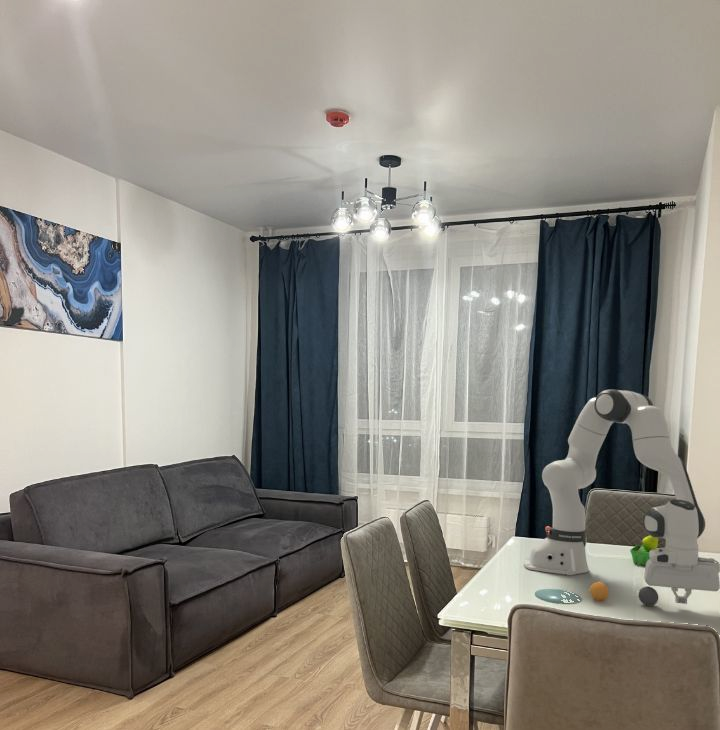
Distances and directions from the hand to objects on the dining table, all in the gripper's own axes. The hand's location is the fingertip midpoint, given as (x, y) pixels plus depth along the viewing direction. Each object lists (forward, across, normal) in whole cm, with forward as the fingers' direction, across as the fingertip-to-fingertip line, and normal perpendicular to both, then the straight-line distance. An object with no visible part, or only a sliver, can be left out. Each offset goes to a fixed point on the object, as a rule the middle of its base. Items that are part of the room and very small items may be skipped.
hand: (681, 602), depth 198 cm
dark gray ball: (-1, +9, 0) cm, 9 cm away
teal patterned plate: (+2, +35, 0) cm, 35 cm away
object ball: (-1, +23, 0) cm, 23 cm away
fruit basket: (+2, +1, -54) cm, 54 cm away
